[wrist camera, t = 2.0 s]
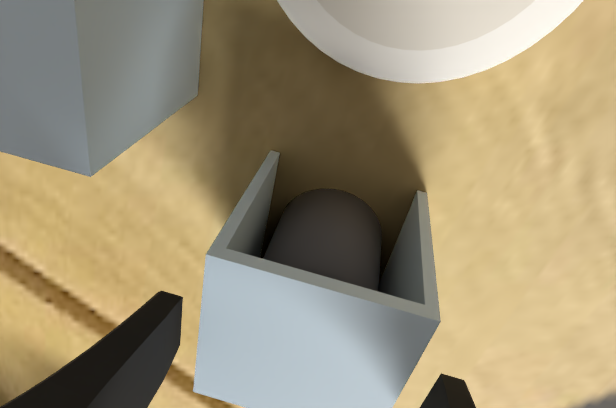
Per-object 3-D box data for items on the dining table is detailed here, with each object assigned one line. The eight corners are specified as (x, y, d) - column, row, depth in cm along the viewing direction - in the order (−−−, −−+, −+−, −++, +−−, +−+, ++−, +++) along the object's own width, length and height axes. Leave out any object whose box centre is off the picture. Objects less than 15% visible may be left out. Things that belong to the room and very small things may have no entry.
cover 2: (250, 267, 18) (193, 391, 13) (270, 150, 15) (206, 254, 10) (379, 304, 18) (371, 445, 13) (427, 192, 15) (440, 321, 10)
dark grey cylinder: (272, 257, 18) (238, 342, 14) (289, 176, 16) (254, 251, 12) (365, 283, 18) (355, 377, 14) (395, 205, 15) (394, 290, 12)
